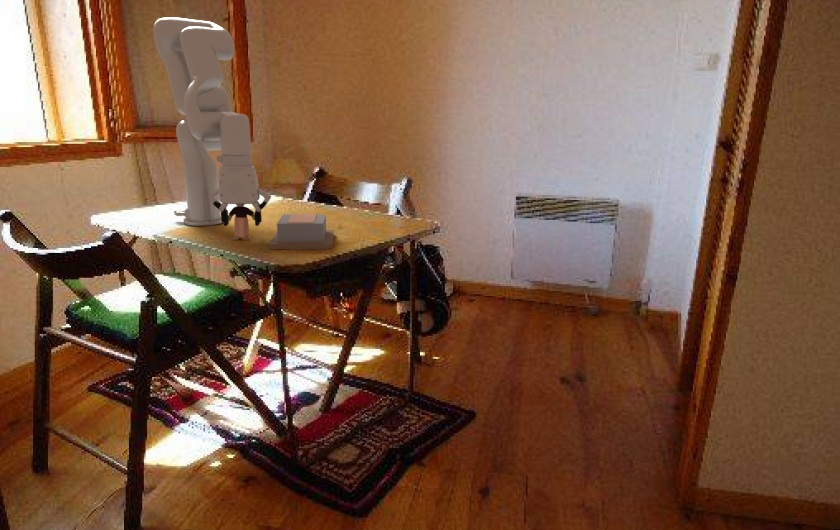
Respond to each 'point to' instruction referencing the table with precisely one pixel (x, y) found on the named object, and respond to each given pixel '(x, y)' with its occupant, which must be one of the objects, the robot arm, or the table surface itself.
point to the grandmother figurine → (241, 221)
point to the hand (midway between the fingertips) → (242, 224)
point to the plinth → (303, 244)
